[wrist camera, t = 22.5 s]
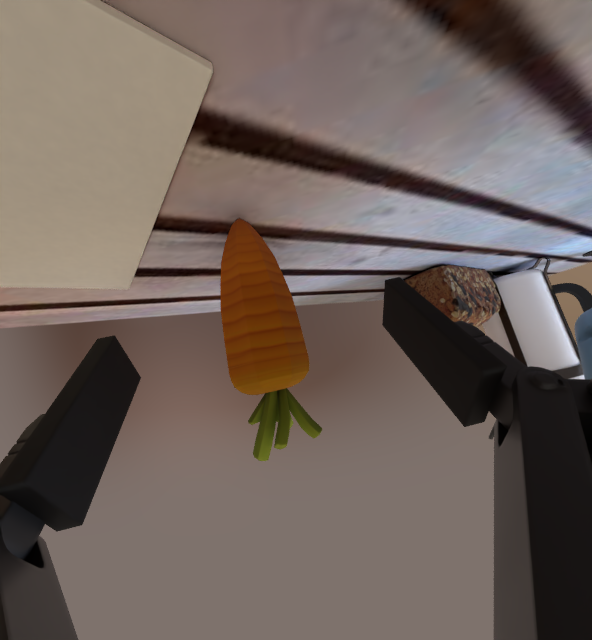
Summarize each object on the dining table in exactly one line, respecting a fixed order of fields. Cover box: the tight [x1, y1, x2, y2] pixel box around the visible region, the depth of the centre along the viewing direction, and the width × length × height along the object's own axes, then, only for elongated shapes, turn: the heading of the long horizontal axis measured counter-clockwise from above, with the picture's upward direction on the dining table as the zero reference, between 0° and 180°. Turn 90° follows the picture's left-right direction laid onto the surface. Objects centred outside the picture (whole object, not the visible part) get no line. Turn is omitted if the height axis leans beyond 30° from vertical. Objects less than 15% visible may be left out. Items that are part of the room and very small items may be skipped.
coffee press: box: [482, 257, 592, 379], centre depth 52 cm, size 17×16×30 cm
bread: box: [404, 265, 501, 327], centre depth 47 cm, size 19×11×10 cm, turn 52°
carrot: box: [221, 218, 322, 461], centre depth 17 cm, size 5×5×15 cm
